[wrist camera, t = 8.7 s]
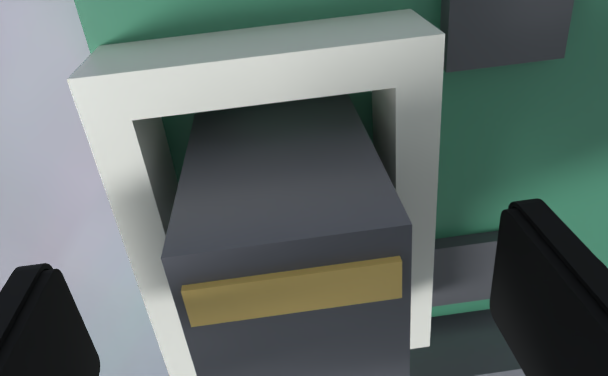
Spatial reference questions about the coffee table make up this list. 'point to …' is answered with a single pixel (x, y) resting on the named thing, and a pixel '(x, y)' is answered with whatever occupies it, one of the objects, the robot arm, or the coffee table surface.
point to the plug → (289, 245)
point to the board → (373, 113)
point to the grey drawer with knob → (465, 348)
